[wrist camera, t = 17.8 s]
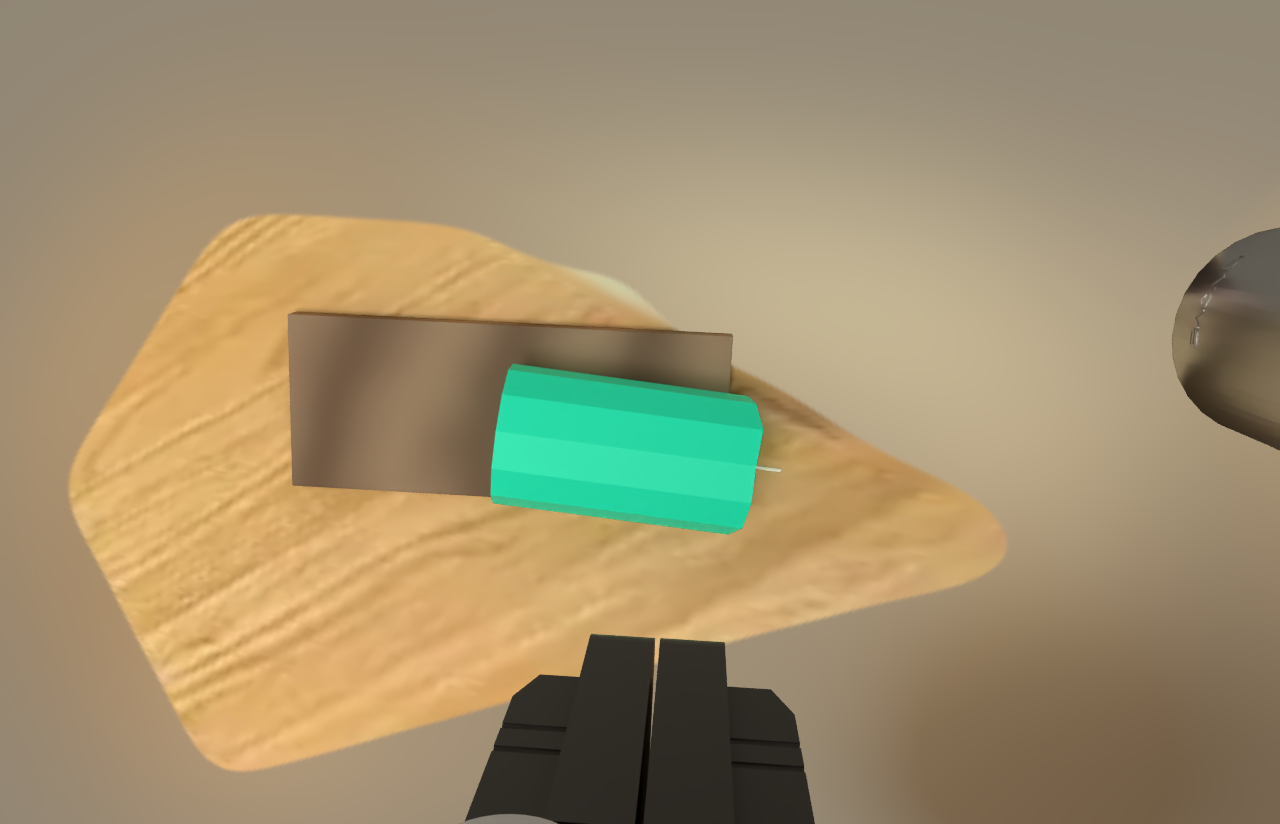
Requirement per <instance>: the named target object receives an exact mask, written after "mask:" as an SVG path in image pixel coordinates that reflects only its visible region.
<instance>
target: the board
mask: <svg viewBox="0 0 1280 824" xmlns="http://www.w3.org/2000/svg"><path fill="white" fill-rule="evenodd" d="M288 341H289V377H290V413H291V448H292V484H293V485H295V486H312V487H329V488H347V489H364V490H381V491H398V492H416V493H433V494H450V495H467V496H485V497H491V468H492V459H493V450H494V442H495V433H496V426H497V421H498V415H499V409H500V403H501V397H502V392H503V389H504V385H505V381H506V377H507V373H508V370H509V368H510V367H511V365H512V364H519V365H527V366H534V367H541V368H548V369H556V370H563V371H570V372H577V373H585V374H592V375H599V376H607V377H614V378H621V379H628V380H636V381H643V382H650V383H657V384H665V385H672V386H679V387H686V388H694V389H701V390H708V391H715V392H723V393H729V388H730V373H731V357H732V341H733V336H732V334H724V333H704V332H685V331H665V330H645V329H625V328H605V327H585V326H566V325H546V324H526V323H506V322H486V321H467V320H447V319H427V318H407V317H387V316H367V315H348V314H328V313H308V312H294V313H290V314H288Z"/></svg>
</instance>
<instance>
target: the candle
mask: <svg viewBox="0 0 1280 824" xmlns="http://www.w3.org/2000/svg"><path fill="white" fill-rule="evenodd" d="M762 435H763V426H762V423H761V419H760V415H759V412H758V408H757V404H756V403H755V402H754V401H753V400H752V399H751V398H750V397H749V396H744V395H737V394H730V393H723V392H715V391H708V390H701V389H694V388H686V387H679V386H672V385H665V384H657V383H650V382H643V381H636V380H628V379H621V378H614V377H607V376H599V375H592V374H585V373H577V372H570V371H563V370H556V369H548V368H541V367H534V366H527V365H519V364H512V365H511V367H510V368H509V370H508V373H507V377H506V381H505V385H504V389H503V392H502V397H501V403H500V409H499V415H498V421H497V426H496V433H495V442H494V450H493V459H492V468H491V498H492V501H493V503H495V504H503V505H510V506H518V507H525V508H533V509H540V510H548V511H555V512H563V513H570V514H578V515H586V516H593V517H601V518H608V519H616V520H623V521H631V522H638V523H646V524H653V525H661V526H668V527H676V528H683V529H691V530H698V531H706V532H713V533H721V534H730V533H733V532H735V531H737V530H740V529H742V527H743V525H744V522H745V519H746V517H747V514H748V511H749V509H750V506H751V503H752V496H753V488H754V480H755V473H756V469H759V470H766V471H774V472H781V469H777V468H769V467H762V466H757V461H758V455H759V450H760V445H761V440H762Z"/></svg>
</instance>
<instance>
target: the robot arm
mask: <svg viewBox="0 0 1280 824" xmlns="http://www.w3.org/2000/svg"><path fill="white" fill-rule="evenodd" d="M1172 345H1173V346H1172V347H1173V360H1174V364H1175V368H1176V371H1177V375H1178V379H1179V381H1180V382H1181V384H1182V386H1183V388H1184V390H1185V392H1186V394H1187V396H1188V397H1189V398H1190V399H1191V400H1192V401H1193V403H1194V404H1195V405H1196V406H1197V407H1198V408H1199V409H1200V411H1201V412H1202V413H1204V414H1205V415H1207V416H1208V417H1210V418H1211V419H1213V420H1214V421H1215V422H1217V423H1218V424H1220V425H1222V426H1225V427H1227V428H1229V429H1232V430H1234V431H1236V432H1239V433H1241V434H1243V435H1246V436H1248V437H1250V438H1253V439H1255V440H1257V441H1260V442H1262V443H1264V444H1267V445H1269V446H1271V447H1274V448H1275V449H1277V450H1280V228H1276V229H1271V230H1267V231H1263V232H1258V233H1255V234H1253V235H1251V236H1249V237H1246V238H1244V239H1242V240H1239V241H1237V242H1235V243H1234V244H1232V245H1231V246H1229V247H1228V248H1226V249H1225V250H1223V251H1222V252H1220V253H1219V254H1217V255H1216V256H1215V257H1214V258H1213V259H1212V260H1211V261H1210V262H1209V263H1208V264H1207V265H1206V266H1205V267H1204V268H1203V269H1202V270H1201V271H1200V272H1199V273H1198V274H1197V276H1196V278H1195V279H1194V280H1193V282H1192V283H1191V285H1190V286H1189V288H1188V290H1187V291H1186V292H1185V294H1184V297H1183V299H1182V302H1181V304H1180V307H1179V309H1178V311H1177V314H1176V318H1175V324H1174V329H1173V334H1172ZM654 655H655V638H644V637H629V636H613V635H597V634H591V635H590V639H589V643H588V646H587V650H586V654H585V658H584V662H583V666H582V670H581V674H580V677H569V676H554V675H539V676H538V677H536V678H535V679H534V680H533V681H531V682H530V683H529V684H527V685H526V686H525V687H524V688H522V689H521V690H520V691H519V692H517V693H516V694H515V695H513V697H512V699H511V702H510V705H509V707H508V710H507V712H506V715H505V718H504V720H503V725H502V728H500V731H499V733H498V736H497V739H496V741H495V744H494V750H493V751H492V752H491V754H490V757H489V760H488V762H487V765H486V767H485V770H484V772H483V775H482V778H481V781H480V783H479V786H478V788H477V791H476V794H475V796H474V799H473V801H472V804H471V806H470V809H469V812H468V814H467V817H466V820H465V822H463V823H460V824H815V822H814V817H813V812H812V806H811V801H810V795H809V790H808V784H807V779H806V774H805V772H804V763H803V757H802V752H801V748H800V741H799V736H798V731H797V725H796V720H795V715H794V714H793V713H792V711H791V710H789V708H788V707H787V706H786V705H785V704H784V703H783V702H782V701H781V700H780V699H779V698H778V697H777V696H776V694H775V693H774V692H773V691H772V690H769V689H754V688H739V687H727V676H726V658H725V643H724V642H710V641H694V640H679V639H663V638H661V639H660V648H659V659H658V671H657V681H656V693H655V703H654V714H653V725H652V737H651V717H652V697H653V675H654ZM650 737H651V747H650Z"/></svg>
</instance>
